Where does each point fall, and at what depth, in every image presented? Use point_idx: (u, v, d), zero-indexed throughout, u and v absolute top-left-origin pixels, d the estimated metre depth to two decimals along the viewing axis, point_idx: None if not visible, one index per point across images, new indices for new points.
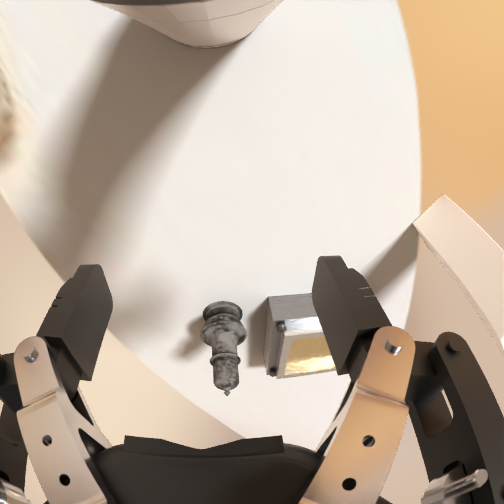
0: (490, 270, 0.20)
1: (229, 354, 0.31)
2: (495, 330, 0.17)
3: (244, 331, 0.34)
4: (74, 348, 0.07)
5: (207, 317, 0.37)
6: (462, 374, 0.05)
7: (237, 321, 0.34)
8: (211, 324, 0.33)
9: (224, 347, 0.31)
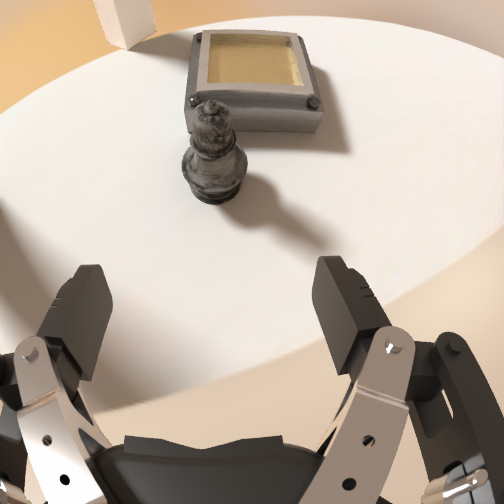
0: None
1: (192, 133, 0.20)
2: None
3: None
4: (74, 348, 0.07)
5: (214, 196, 0.27)
6: (462, 374, 0.05)
7: None
8: (185, 177, 0.23)
9: None
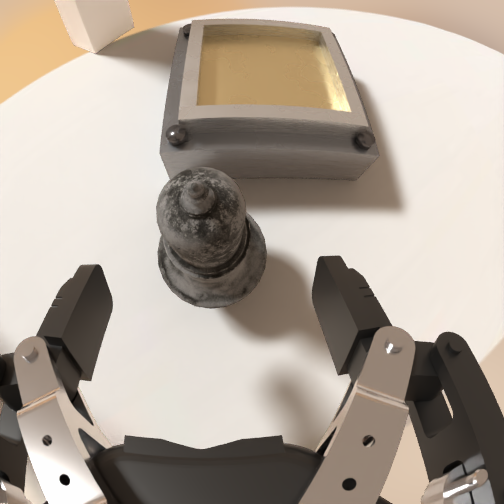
0: None
1: None
2: None
3: None
4: (74, 348, 0.07)
5: None
6: (462, 374, 0.05)
7: None
8: (165, 279, 0.14)
9: None
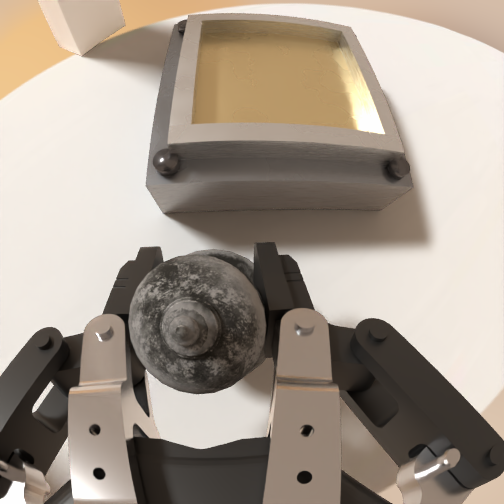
0: None
1: None
2: None
3: None
4: None
5: None
6: (395, 361, 0.06)
7: None
8: None
9: None
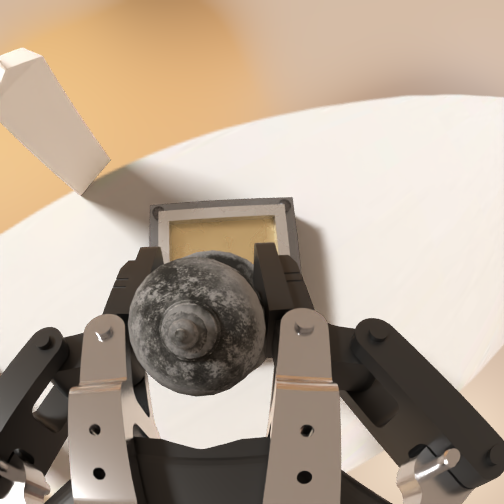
0: None
1: None
2: None
3: None
4: None
5: None
6: (395, 361, 0.06)
7: None
8: None
9: None
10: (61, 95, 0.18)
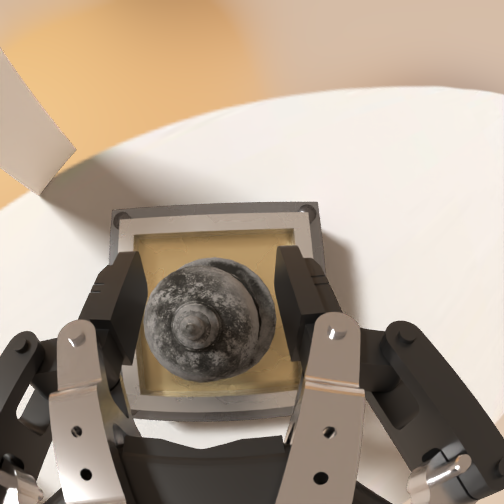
0: None
1: None
2: None
3: (195, 264, 0.13)
4: (119, 331, 0.07)
5: None
6: (420, 363, 0.06)
7: None
8: None
9: None
10: (2, 62, 0.09)
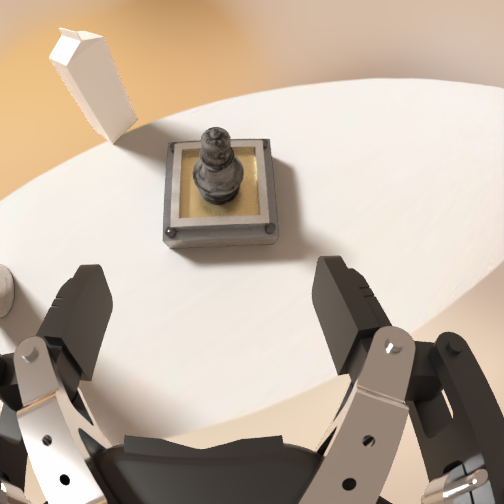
0: (73, 90, 0.28)
1: (201, 150, 0.27)
2: (69, 71, 0.22)
3: None
4: (74, 348, 0.07)
5: (218, 198, 0.34)
6: (462, 374, 0.05)
7: None
8: (195, 183, 0.31)
9: None
10: (112, 65, 0.27)
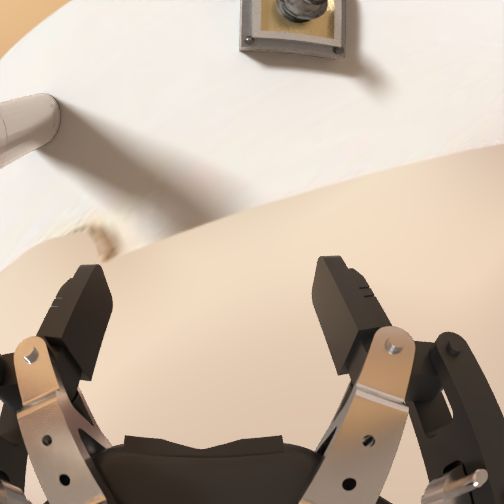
0: None
1: None
2: None
3: None
4: (74, 348, 0.07)
5: (296, 18, 0.26)
6: (462, 374, 0.05)
7: None
8: (283, 5, 0.23)
9: None
10: None
